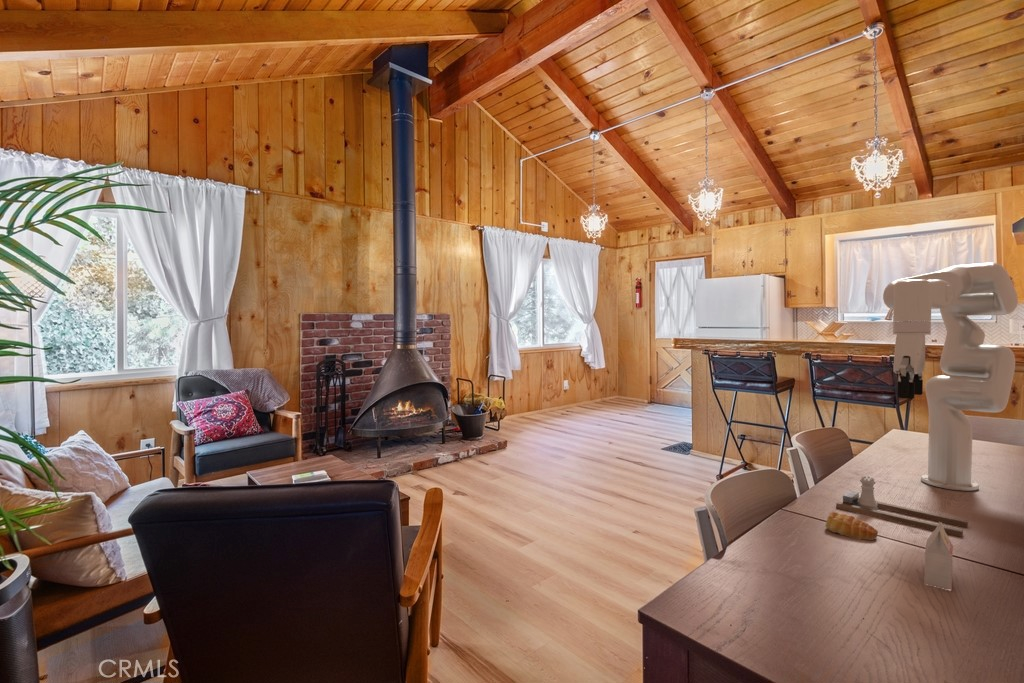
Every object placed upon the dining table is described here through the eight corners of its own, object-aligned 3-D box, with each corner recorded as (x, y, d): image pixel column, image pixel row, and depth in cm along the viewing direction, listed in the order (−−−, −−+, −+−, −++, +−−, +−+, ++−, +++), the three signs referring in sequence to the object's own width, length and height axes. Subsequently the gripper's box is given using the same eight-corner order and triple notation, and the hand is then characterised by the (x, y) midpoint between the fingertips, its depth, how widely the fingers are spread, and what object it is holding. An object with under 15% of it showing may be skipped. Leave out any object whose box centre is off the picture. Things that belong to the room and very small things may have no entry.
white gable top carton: (924, 584, 90) (925, 529, 90) (926, 570, 96) (927, 518, 95) (951, 591, 88) (952, 535, 88) (952, 577, 93) (953, 523, 93)
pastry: (881, 536, 111) (881, 519, 111) (872, 545, 107) (872, 527, 107) (833, 523, 118) (833, 507, 118) (822, 531, 114) (823, 515, 114)
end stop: (849, 501, 132) (849, 490, 132) (858, 503, 131) (858, 492, 130) (842, 507, 128) (842, 495, 128) (851, 509, 127) (852, 497, 127)
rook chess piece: (881, 513, 124) (882, 481, 124) (861, 511, 125) (862, 480, 125) (872, 506, 129) (873, 475, 128) (853, 505, 129) (853, 474, 129)
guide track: (847, 499, 134) (847, 494, 134) (967, 525, 116) (968, 520, 116) (836, 507, 128) (836, 503, 128) (961, 537, 110) (961, 531, 110)
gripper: (901, 328, 135) (900, 391, 136) (884, 329, 124) (883, 398, 125) (937, 328, 130) (935, 394, 130) (923, 329, 118) (921, 401, 119)
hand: (910, 396), depth 128 cm, fingers open, 9 cm apart
